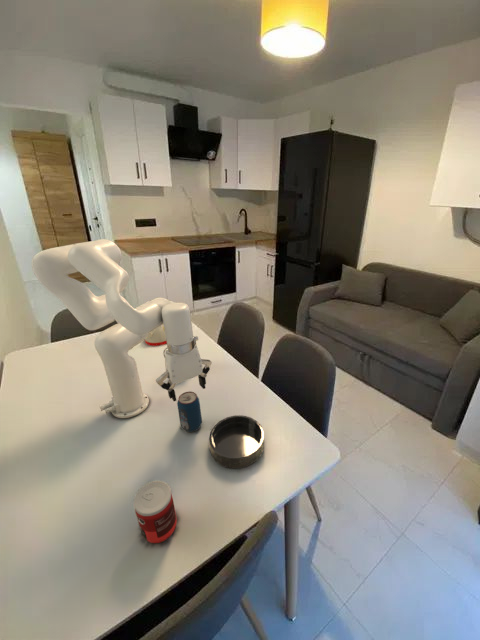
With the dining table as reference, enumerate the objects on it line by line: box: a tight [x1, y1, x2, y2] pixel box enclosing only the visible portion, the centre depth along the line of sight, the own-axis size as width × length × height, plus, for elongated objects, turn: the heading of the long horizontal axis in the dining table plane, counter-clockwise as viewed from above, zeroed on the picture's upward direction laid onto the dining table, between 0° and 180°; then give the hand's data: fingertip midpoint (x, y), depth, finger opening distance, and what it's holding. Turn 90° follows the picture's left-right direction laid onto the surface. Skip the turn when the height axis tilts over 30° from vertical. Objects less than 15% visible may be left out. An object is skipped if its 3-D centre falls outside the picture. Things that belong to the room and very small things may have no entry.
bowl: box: [208, 414, 265, 469], centre depth 88 cm, size 16×16×4 cm
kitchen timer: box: [144, 324, 167, 347], centre depth 148 cm, size 14×14×15 cm
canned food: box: [133, 480, 178, 544], centre depth 66 cm, size 8×8×11 cm
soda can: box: [176, 391, 203, 433], centre depth 94 cm, size 7×7×12 cm
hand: (188, 392), depth 91 cm, fingers open, 9 cm apart
